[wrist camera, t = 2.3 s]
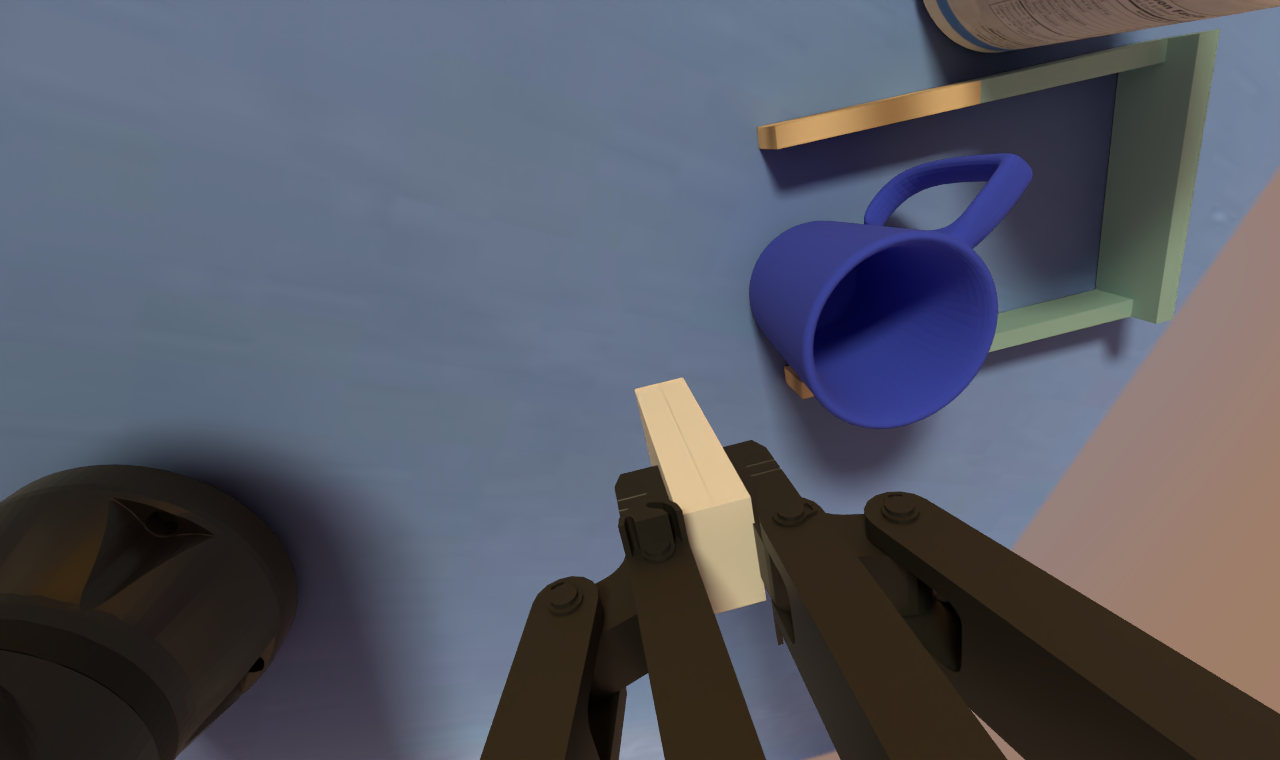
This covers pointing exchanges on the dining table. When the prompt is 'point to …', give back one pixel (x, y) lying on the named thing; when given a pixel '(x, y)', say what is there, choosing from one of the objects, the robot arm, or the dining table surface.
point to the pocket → (1128, 179)
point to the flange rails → (861, 120)
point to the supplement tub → (1067, 19)
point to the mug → (889, 297)
